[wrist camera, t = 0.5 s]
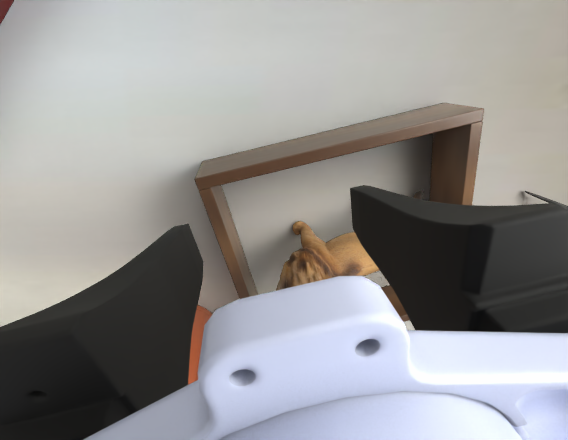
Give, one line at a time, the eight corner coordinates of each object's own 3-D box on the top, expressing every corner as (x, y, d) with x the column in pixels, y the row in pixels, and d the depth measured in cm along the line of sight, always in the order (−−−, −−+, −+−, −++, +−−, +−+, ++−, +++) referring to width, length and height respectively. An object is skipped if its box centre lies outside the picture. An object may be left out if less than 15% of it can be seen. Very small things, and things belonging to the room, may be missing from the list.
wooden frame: (432, 279, 29) (458, 307, 26) (259, 324, 29) (262, 358, 26) (444, 102, 21) (484, 108, 18) (201, 161, 21) (193, 179, 17)
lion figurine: (281, 281, 27) (298, 368, 19) (253, 240, 24) (259, 321, 16) (425, 210, 25) (509, 273, 17) (411, 159, 23) (501, 205, 15)
